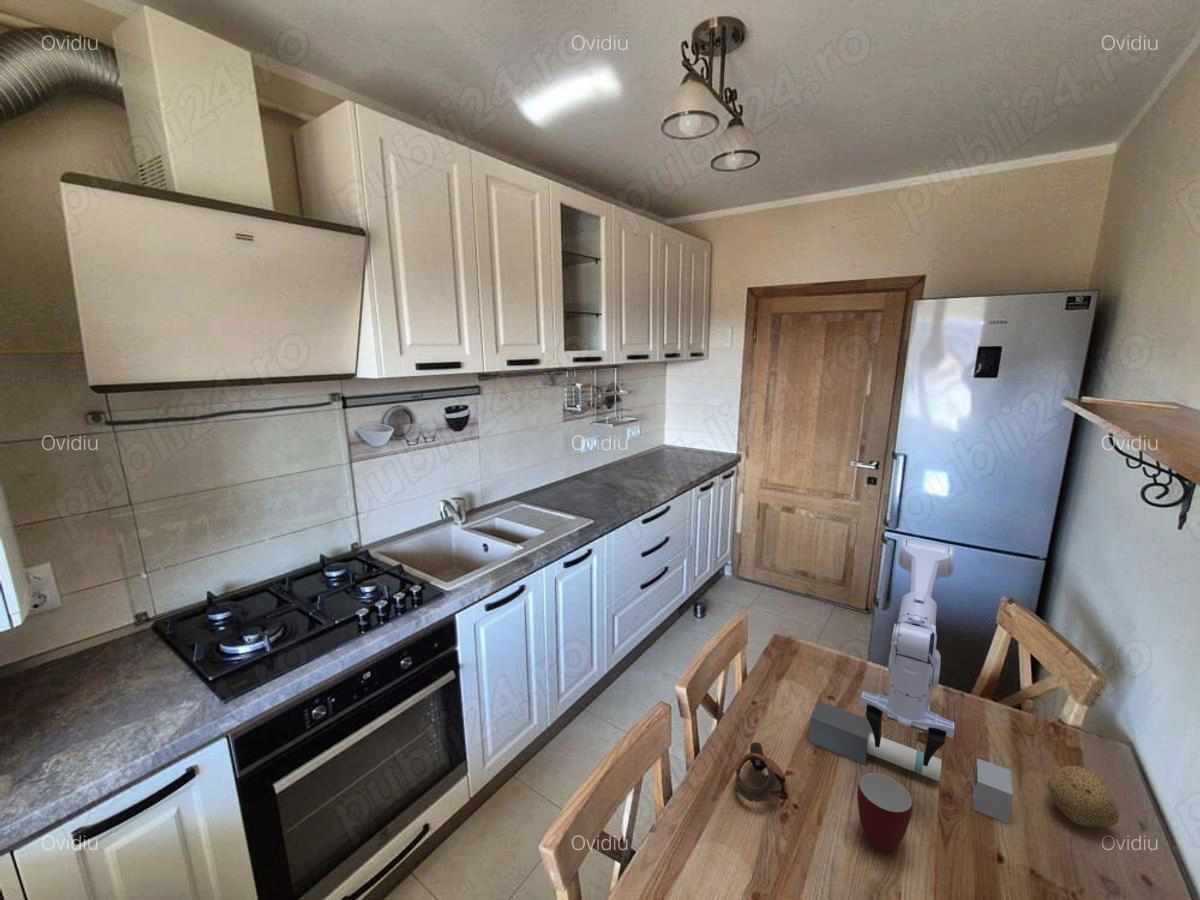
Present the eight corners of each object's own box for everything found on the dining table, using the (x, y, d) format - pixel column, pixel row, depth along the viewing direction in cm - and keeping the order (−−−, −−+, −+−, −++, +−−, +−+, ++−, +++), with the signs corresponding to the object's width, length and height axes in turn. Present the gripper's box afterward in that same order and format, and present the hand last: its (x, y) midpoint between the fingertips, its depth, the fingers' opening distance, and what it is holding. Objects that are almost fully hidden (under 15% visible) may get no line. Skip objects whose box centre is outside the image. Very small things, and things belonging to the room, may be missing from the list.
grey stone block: (808, 742, 109) (810, 717, 108) (815, 724, 114) (817, 700, 113) (865, 765, 103) (867, 739, 102) (869, 745, 108) (872, 720, 107)
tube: (812, 736, 109) (814, 719, 109) (817, 724, 113) (818, 708, 112) (938, 786, 96) (941, 768, 96) (939, 772, 100) (941, 754, 99)
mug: (842, 805, 93) (846, 759, 92) (888, 810, 92) (893, 763, 91) (863, 860, 83) (869, 809, 81) (915, 867, 82) (922, 815, 80)
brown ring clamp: (799, 813, 92) (784, 789, 89) (750, 826, 94) (734, 803, 91) (779, 751, 103) (765, 727, 100) (736, 763, 105) (721, 740, 102)
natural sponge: (1032, 792, 96) (1039, 747, 94) (1088, 803, 94) (1097, 756, 92) (1061, 835, 87) (1070, 786, 85) (1124, 848, 85) (1135, 798, 83)
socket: (973, 809, 92) (977, 781, 91) (973, 785, 98) (976, 758, 96) (1008, 824, 89) (1013, 795, 88) (1005, 798, 95) (1010, 770, 94)
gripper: (860, 684, 91) (854, 749, 94) (957, 716, 83) (947, 786, 85) (866, 665, 97) (860, 726, 99) (957, 693, 89) (948, 760, 91)
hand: (901, 752), depth 93 cm, fingers open, 7 cm apart
